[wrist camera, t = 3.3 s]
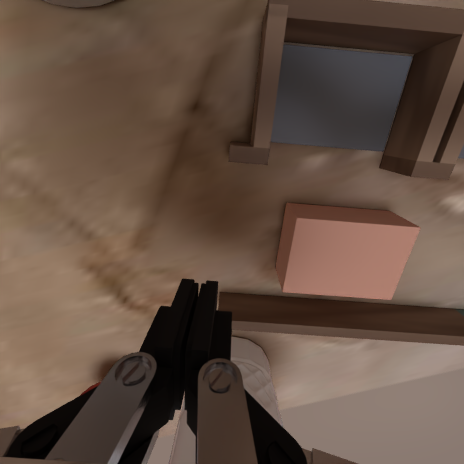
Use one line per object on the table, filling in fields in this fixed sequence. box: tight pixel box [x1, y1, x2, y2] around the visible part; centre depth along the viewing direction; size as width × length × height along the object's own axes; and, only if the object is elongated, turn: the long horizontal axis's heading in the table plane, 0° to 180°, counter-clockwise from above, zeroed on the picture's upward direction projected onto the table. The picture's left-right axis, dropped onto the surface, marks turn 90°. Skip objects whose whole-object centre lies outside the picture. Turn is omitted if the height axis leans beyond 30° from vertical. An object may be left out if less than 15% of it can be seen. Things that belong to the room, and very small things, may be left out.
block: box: [275, 203, 421, 300], centre depth 16 cm, size 5×7×3 cm
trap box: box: [218, 0, 464, 346], centre depth 15 cm, size 18×26×3 cm
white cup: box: [169, 336, 283, 464], centre depth 18 cm, size 8×8×10 cm
